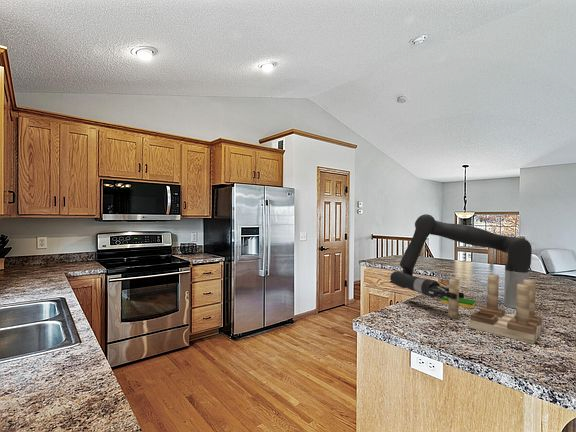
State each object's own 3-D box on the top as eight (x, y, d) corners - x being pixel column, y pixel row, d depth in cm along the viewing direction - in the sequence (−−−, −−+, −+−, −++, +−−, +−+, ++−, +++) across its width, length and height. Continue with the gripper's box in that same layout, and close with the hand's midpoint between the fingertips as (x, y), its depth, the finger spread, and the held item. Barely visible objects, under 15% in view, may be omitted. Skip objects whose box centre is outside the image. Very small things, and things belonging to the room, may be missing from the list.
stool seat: (483, 316, 137) (485, 272, 136) (542, 329, 122) (544, 280, 122) (469, 327, 123) (470, 278, 122) (533, 343, 108) (535, 288, 108)
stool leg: (453, 315, 137) (454, 278, 136) (460, 318, 133) (461, 280, 133) (446, 315, 136) (447, 278, 135) (452, 318, 132) (453, 280, 132)
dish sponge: (444, 300, 163) (444, 295, 162) (475, 305, 154) (475, 300, 153) (440, 302, 157) (440, 298, 157) (472, 309, 148) (472, 303, 148)
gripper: (415, 280, 144) (448, 289, 129) (437, 277, 150) (471, 286, 134) (414, 296, 144) (447, 307, 129) (437, 293, 150) (471, 303, 135)
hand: (459, 296), depth 132 cm, fingers closed on stool leg, 3 cm apart
